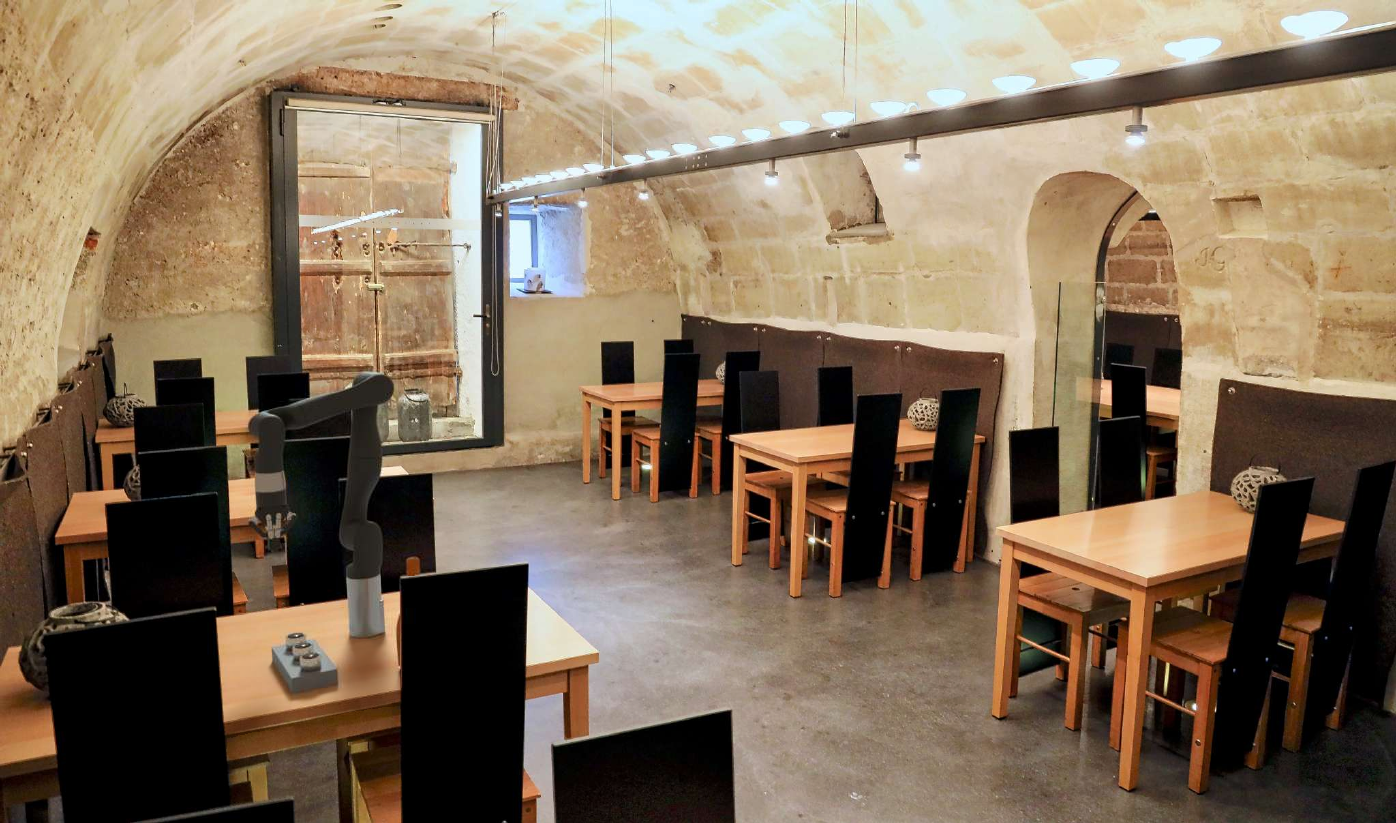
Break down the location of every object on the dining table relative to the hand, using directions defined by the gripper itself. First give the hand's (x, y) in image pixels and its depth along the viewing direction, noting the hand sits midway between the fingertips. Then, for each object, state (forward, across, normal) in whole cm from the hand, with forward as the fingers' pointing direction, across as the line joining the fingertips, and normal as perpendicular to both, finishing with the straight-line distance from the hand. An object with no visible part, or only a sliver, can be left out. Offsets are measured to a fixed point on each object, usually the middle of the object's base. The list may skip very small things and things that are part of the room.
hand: (274, 551), depth 276 cm
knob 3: (+25, -3, +25) cm, 35 cm away
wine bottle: (+29, -28, +30) cm, 50 cm away
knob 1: (+25, -3, +8) cm, 26 cm away
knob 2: (+25, -3, +17) cm, 30 cm away
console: (+29, -2, +16) cm, 33 cm away
